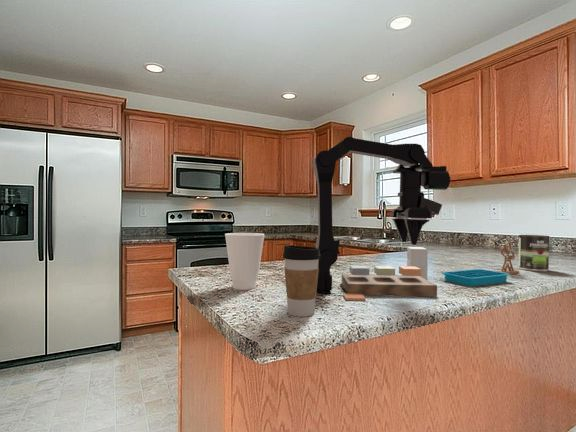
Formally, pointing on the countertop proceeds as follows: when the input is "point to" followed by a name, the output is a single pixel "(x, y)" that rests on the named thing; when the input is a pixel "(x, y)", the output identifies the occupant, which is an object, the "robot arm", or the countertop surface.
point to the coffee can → (534, 252)
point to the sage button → (384, 270)
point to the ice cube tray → (475, 277)
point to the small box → (418, 259)
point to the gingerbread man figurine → (504, 249)
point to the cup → (244, 258)
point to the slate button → (359, 270)
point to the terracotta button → (409, 271)
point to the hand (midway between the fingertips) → (408, 243)
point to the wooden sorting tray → (388, 285)
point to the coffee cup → (301, 278)
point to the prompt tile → (354, 297)
